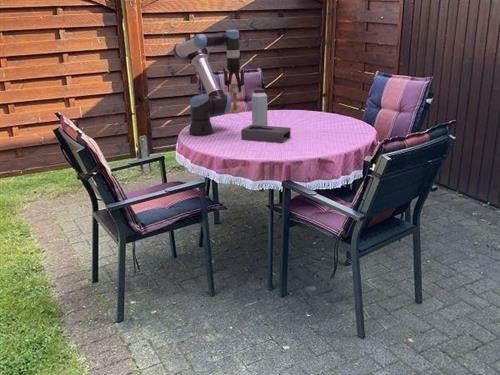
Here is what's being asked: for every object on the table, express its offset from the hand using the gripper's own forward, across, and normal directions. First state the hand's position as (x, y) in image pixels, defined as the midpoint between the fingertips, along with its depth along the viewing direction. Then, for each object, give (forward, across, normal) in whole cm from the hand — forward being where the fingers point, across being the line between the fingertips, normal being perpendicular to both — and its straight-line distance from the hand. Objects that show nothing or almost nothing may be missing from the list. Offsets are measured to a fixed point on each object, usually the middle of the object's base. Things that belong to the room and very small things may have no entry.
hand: (234, 97), depth 305 cm
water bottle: (+24, +6, +24) cm, 34 cm away
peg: (+9, 0, 0) cm, 9 cm away
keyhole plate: (+24, +20, 0) cm, 31 cm away
